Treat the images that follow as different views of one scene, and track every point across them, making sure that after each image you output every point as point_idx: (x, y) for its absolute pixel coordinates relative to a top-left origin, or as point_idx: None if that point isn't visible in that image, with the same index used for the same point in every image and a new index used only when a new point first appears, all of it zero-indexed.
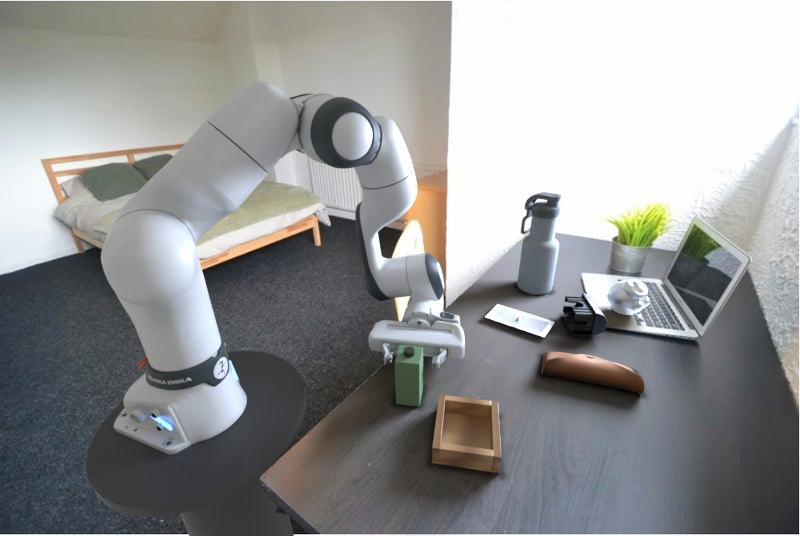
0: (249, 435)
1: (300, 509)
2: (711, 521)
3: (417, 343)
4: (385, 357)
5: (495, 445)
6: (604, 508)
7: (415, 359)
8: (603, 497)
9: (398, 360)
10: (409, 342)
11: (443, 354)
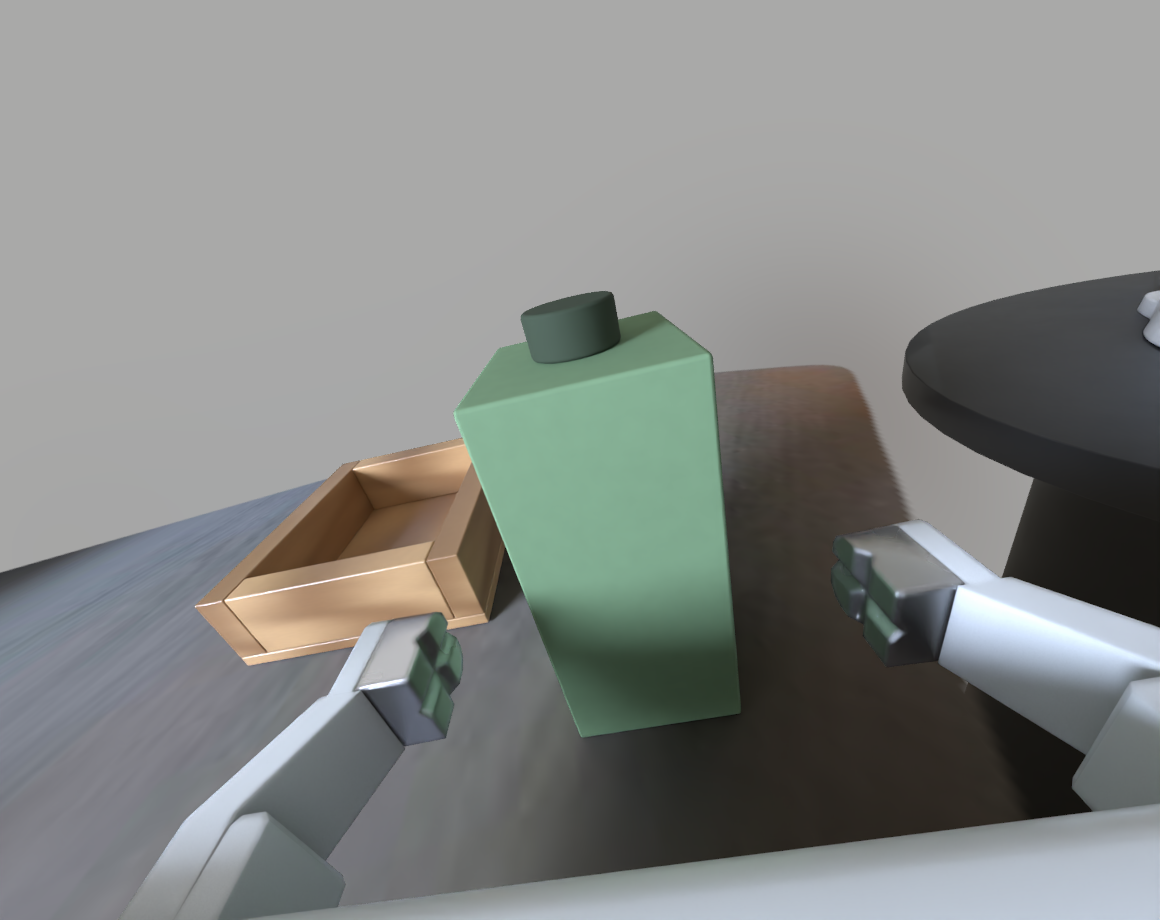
0: (1057, 366)
1: (739, 371)
2: (44, 564)
3: (619, 871)
4: (901, 523)
5: (338, 477)
6: (209, 525)
7: (523, 348)
8: (188, 540)
9: (635, 317)
10: (802, 850)
11: (261, 755)
